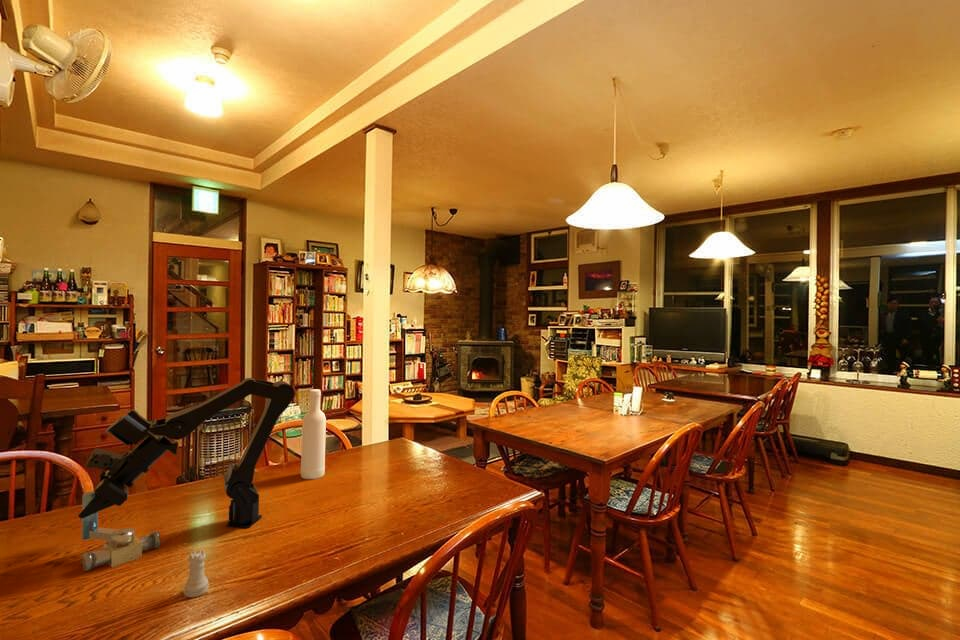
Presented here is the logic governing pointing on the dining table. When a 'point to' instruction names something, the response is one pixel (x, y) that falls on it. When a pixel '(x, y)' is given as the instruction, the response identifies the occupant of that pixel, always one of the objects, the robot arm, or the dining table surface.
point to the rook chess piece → (196, 575)
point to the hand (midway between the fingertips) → (82, 511)
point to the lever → (95, 532)
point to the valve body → (120, 551)
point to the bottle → (313, 439)
